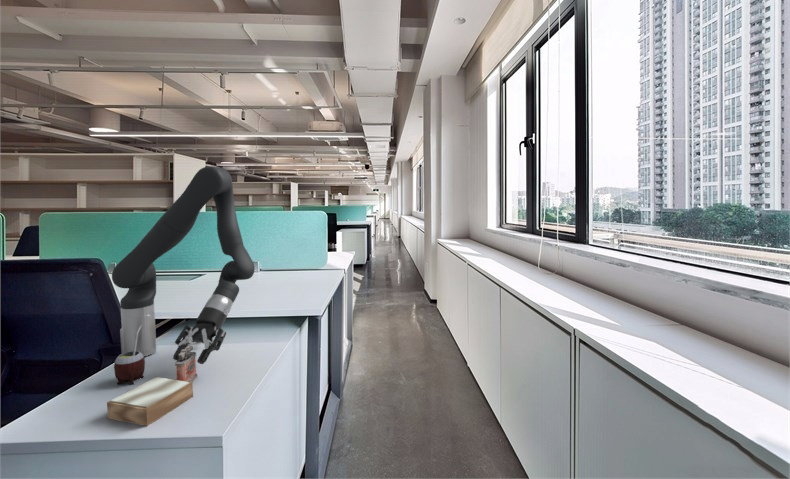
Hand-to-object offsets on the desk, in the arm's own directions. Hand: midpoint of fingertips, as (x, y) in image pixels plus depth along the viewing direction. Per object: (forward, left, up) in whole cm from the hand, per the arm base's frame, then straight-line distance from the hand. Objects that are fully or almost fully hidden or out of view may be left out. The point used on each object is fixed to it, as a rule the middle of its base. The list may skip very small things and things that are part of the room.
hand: (187, 361), depth 100 cm
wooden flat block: (+2, -13, -6) cm, 14 cm away
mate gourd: (-17, -3, -6) cm, 19 cm away
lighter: (0, 0, -6) cm, 6 cm away
